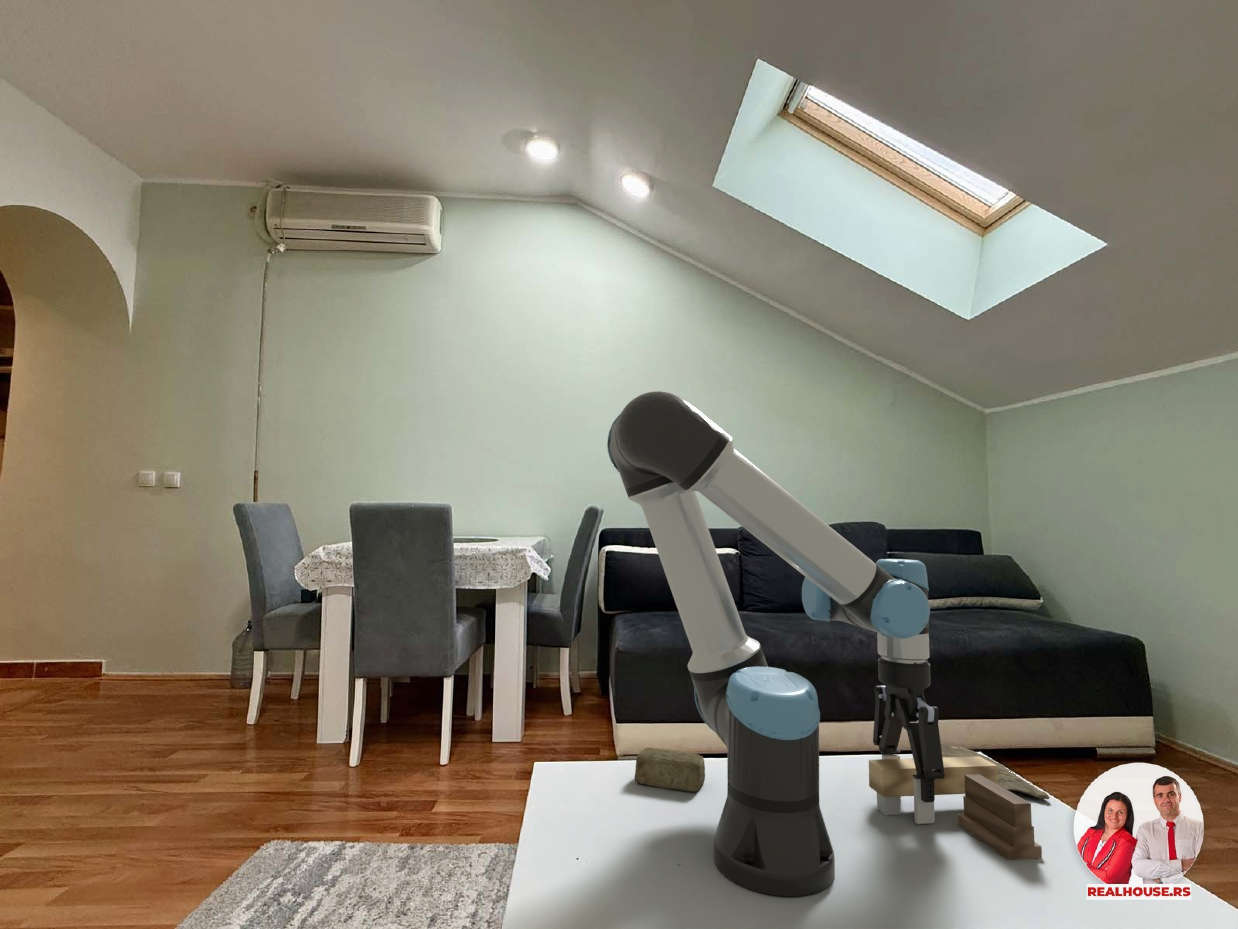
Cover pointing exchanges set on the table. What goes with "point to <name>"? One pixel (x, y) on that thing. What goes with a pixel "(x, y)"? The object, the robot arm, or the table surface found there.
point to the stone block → (670, 769)
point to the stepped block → (998, 819)
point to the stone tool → (1004, 776)
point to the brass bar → (898, 773)
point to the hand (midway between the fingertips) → (907, 809)
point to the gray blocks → (888, 805)
